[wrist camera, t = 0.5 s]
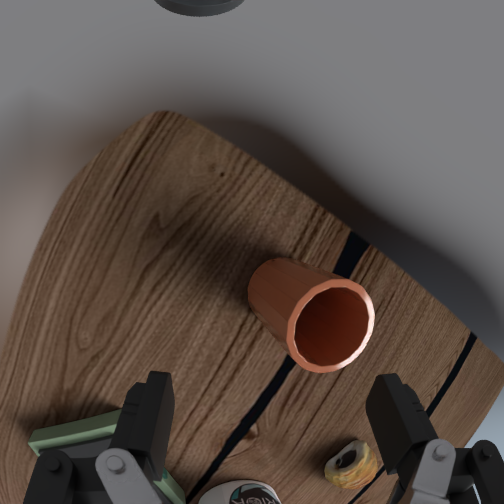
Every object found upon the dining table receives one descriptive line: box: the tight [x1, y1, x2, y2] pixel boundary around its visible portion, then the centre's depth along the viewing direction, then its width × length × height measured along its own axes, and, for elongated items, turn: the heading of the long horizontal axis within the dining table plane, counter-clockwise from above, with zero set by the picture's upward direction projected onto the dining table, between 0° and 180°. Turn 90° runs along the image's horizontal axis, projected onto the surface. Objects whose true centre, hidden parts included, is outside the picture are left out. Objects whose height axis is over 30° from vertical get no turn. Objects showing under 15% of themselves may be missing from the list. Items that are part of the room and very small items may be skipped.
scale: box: [28, 409, 186, 504], centre depth 24 cm, size 14×12×3 cm
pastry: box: [324, 440, 378, 489], centre depth 31 cm, size 9×7×4 cm
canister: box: [247, 257, 375, 373], centre depth 23 cm, size 6×6×10 cm
